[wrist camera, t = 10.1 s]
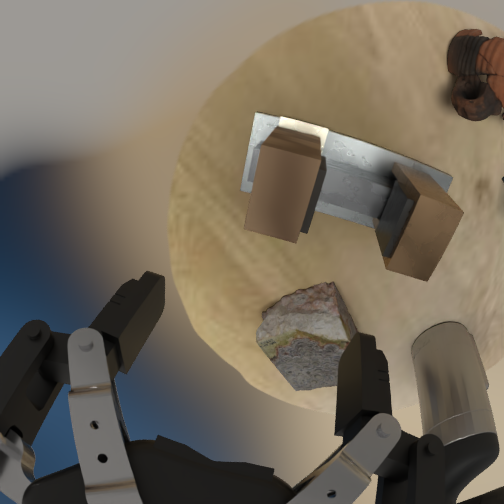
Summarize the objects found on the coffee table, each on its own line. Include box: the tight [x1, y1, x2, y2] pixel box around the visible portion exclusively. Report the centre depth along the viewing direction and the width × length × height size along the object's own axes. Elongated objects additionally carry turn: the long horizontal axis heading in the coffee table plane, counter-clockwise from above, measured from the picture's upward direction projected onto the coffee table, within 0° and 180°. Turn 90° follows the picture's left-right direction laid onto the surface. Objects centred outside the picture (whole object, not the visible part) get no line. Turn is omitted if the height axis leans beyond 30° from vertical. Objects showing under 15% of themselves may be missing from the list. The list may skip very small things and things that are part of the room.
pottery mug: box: [448, 29, 504, 121], centre depth 17 cm, size 12×10×8 cm
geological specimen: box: [256, 282, 358, 391], centre depth 38 cm, size 11×6×15 cm
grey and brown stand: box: [240, 112, 464, 281], centre depth 24 cm, size 20×8×9 cm, turn 79°
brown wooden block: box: [244, 126, 327, 243], centre depth 24 cm, size 5×6×8 cm
